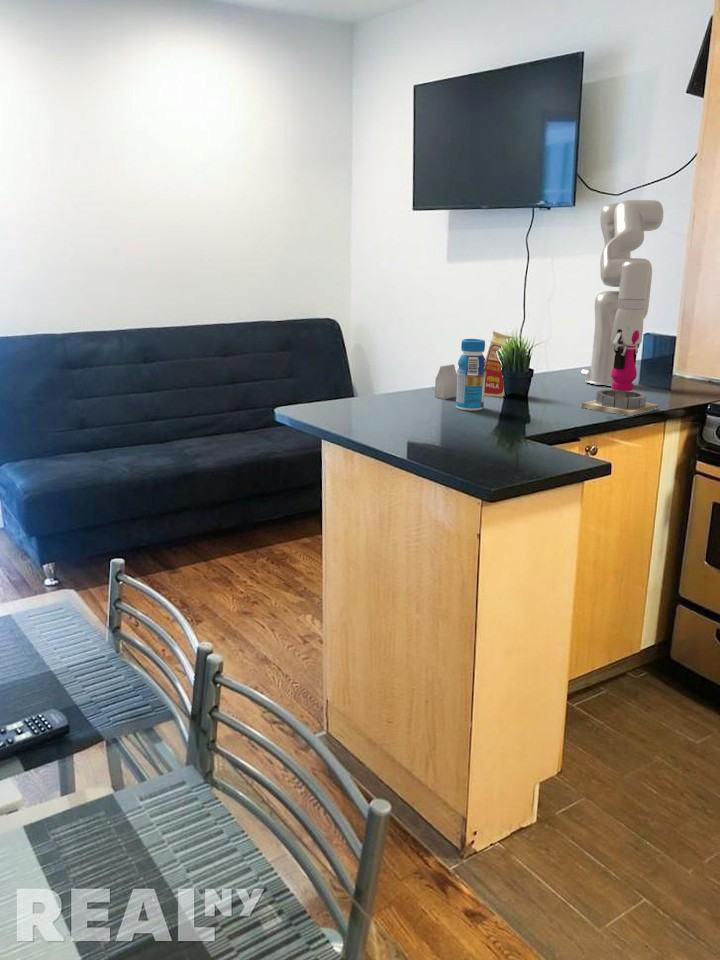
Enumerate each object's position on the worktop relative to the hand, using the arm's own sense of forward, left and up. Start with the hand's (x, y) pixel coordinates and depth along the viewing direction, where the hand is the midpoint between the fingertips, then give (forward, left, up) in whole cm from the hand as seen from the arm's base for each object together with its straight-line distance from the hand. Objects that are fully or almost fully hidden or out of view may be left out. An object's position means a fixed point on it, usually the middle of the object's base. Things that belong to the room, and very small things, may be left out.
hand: (624, 367), depth 239 cm
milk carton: (-38, -10, -13) cm, 41 cm away
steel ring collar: (0, 0, -11) cm, 11 cm away
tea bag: (-45, -27, -13) cm, 54 cm away
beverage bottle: (-29, -35, -13) cm, 47 cm away
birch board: (0, 0, -12) cm, 12 cm away
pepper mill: (0, 0, -7) cm, 7 cm away
